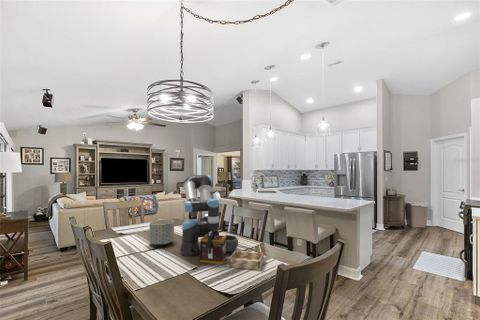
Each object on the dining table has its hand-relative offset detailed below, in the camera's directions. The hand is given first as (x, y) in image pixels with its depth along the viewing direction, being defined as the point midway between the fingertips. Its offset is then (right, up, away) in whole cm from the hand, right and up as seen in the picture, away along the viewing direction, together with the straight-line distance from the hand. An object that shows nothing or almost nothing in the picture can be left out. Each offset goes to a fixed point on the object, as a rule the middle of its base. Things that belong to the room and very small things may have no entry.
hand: (213, 255), depth 164 cm
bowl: (+9, -4, +18) cm, 21 cm away
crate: (+22, -3, -6) cm, 23 cm away
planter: (-46, -5, +34) cm, 57 cm away
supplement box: (0, -4, 0) cm, 4 cm away
